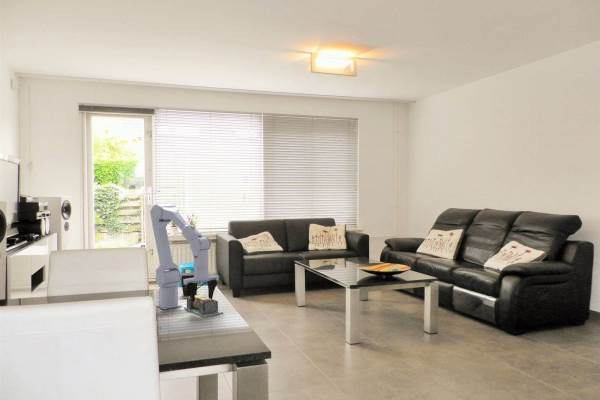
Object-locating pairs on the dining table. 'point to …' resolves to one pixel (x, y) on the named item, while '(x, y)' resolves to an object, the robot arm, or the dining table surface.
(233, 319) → the dining table surface
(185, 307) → the board
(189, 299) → the bracket
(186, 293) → the coffee mug
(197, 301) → the rail
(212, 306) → the bracket
